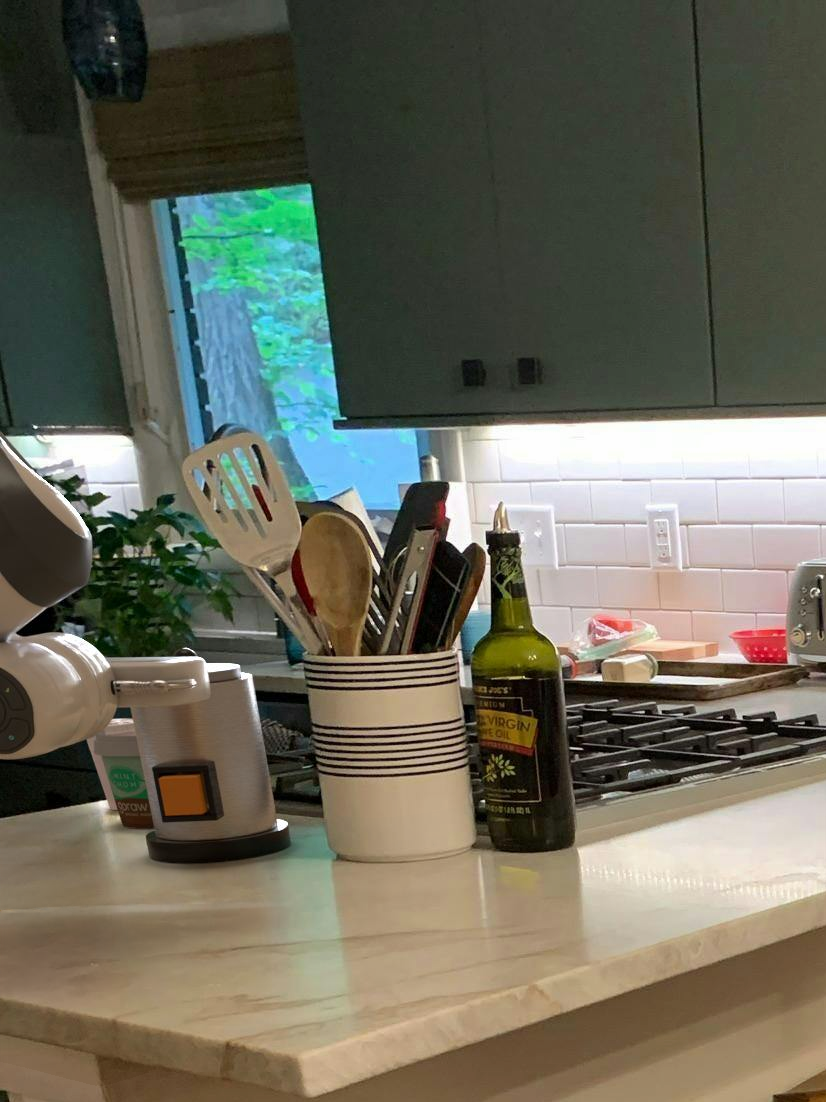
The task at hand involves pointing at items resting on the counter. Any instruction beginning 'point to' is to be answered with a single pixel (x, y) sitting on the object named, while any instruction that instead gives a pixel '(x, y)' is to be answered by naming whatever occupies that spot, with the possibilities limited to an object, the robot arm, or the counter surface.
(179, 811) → the switch
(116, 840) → the counter surface
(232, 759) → the kettle
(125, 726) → the smoothie
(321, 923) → the counter surface
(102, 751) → the food container
